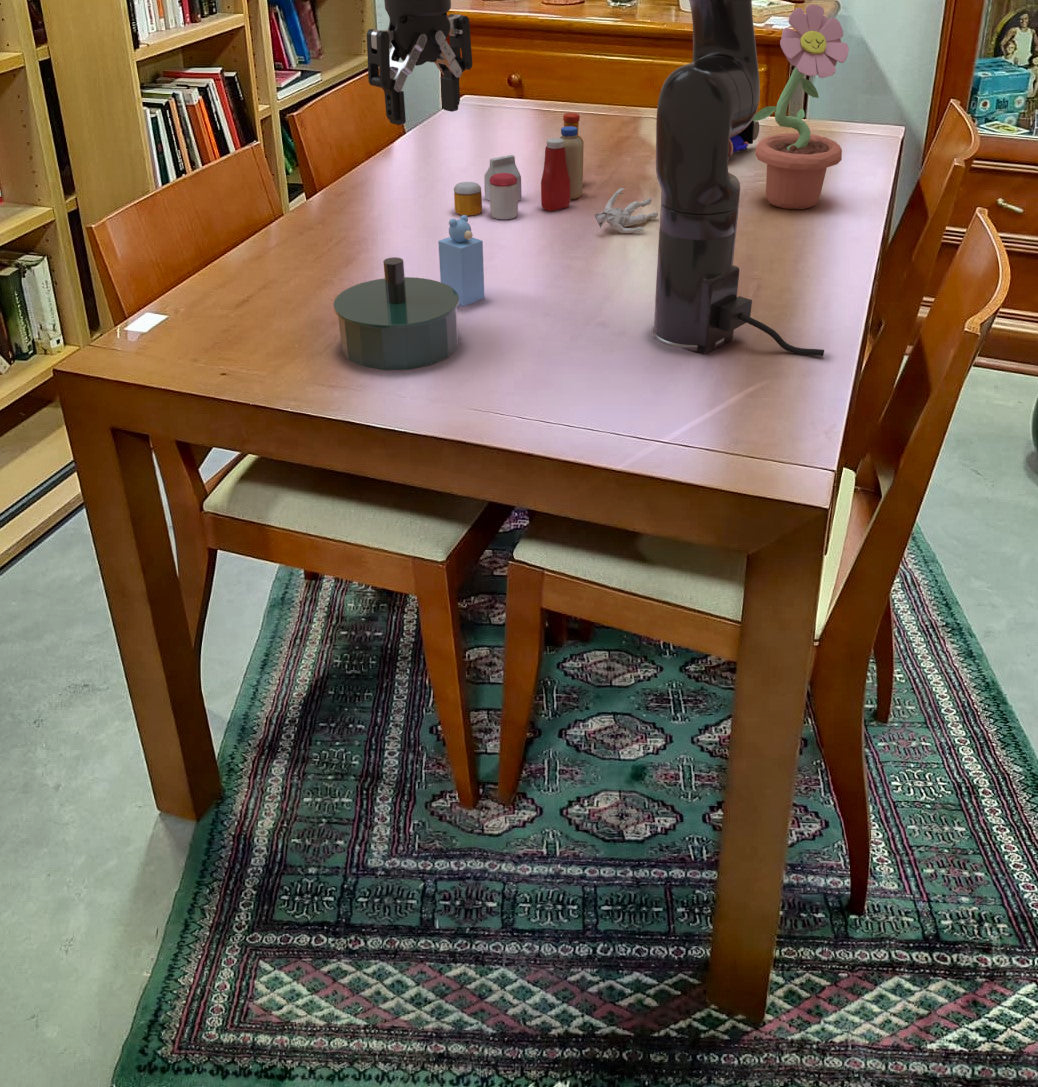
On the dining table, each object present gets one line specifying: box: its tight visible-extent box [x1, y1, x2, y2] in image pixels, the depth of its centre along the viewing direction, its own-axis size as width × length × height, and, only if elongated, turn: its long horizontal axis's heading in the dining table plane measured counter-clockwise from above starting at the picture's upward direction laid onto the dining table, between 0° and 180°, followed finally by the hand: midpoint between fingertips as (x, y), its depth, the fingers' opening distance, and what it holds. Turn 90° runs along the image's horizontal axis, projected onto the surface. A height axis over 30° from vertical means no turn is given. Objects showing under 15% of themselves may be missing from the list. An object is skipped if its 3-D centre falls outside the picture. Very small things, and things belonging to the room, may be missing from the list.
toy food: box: [453, 112, 585, 220], centre depth 187 cm, size 27×13×12 cm, turn 124°
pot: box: [337, 309, 459, 371], centre depth 141 cm, size 14×14×6 cm
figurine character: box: [728, 121, 760, 160], centre depth 210 cm, size 7×8×15 cm
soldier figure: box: [593, 187, 659, 234], centre depth 178 cm, size 8×5×12 cm
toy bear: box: [438, 215, 485, 307], centre depth 151 cm, size 4×4×12 cm
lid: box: [333, 256, 460, 329], centre depth 138 cm, size 15×15×6 cm
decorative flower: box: [752, 3, 850, 210], centre depth 180 cm, size 15×14×30 cm
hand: (424, 116), depth 135 cm, fingers open, 8 cm apart
